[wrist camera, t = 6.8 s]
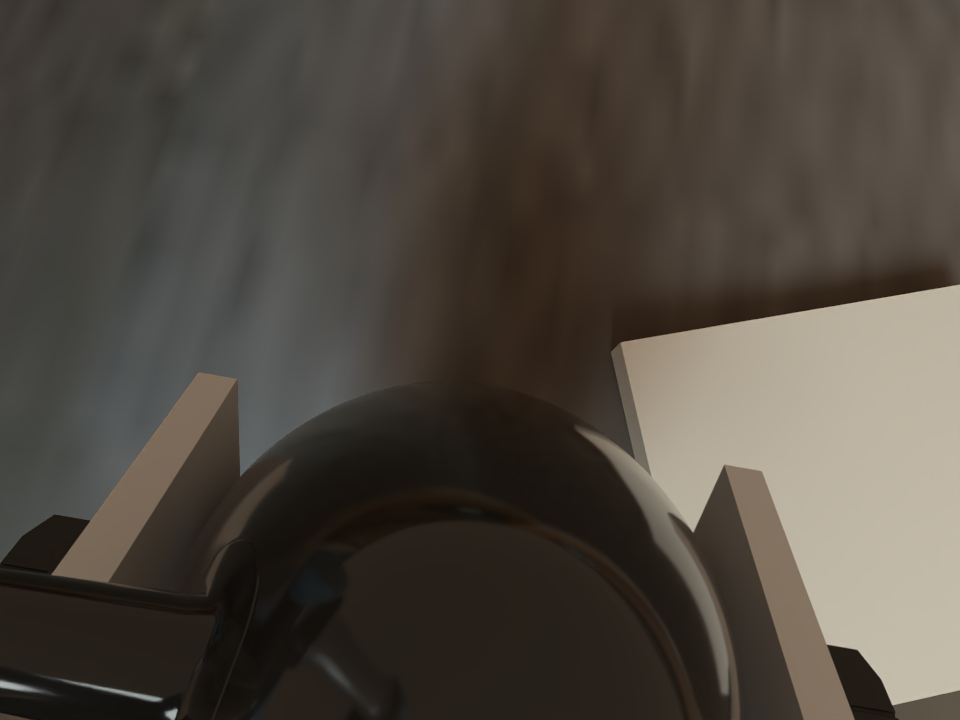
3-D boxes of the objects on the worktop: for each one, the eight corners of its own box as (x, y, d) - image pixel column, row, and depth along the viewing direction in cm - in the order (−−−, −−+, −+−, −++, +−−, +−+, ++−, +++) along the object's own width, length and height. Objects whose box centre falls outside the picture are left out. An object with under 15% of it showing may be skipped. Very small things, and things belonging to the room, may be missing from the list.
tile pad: (610, 352, 27) (620, 342, 25) (940, 295, 28) (967, 283, 26) (696, 731, 24) (713, 745, 22) (1057, 651, 25) (1095, 659, 24)
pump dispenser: (317, 368, 21) (33, 24, 6) (662, 469, 21) (1206, 365, 6) (191, 738, 19) (-711, 1572, 4) (576, 850, 19) (1094, 2099, 4)
